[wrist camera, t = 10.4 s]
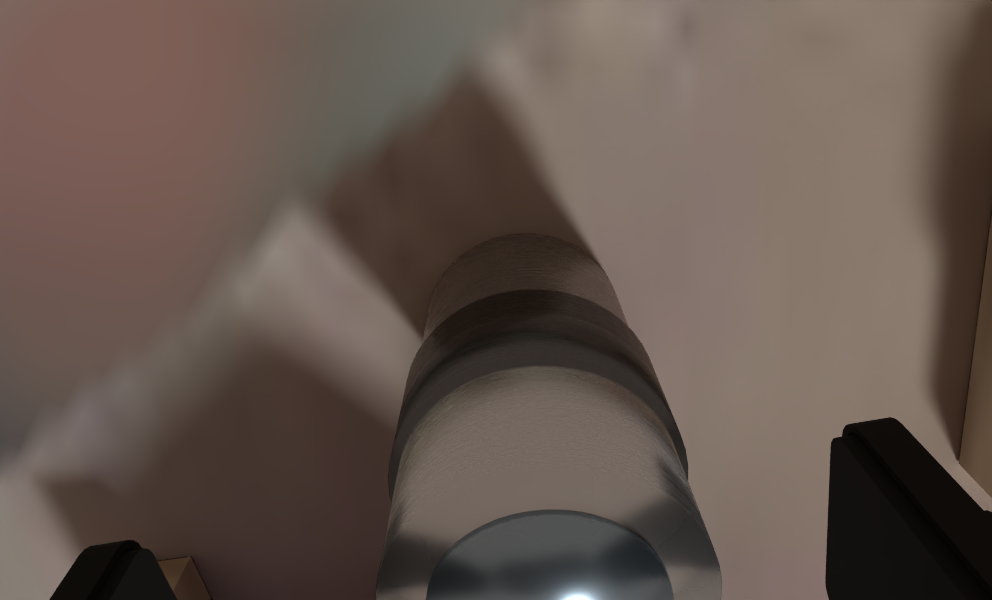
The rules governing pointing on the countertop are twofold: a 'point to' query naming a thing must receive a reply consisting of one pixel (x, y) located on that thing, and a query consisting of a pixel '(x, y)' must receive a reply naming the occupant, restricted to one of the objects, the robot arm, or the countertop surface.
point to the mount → (980, 391)
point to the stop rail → (184, 579)
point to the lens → (538, 445)
